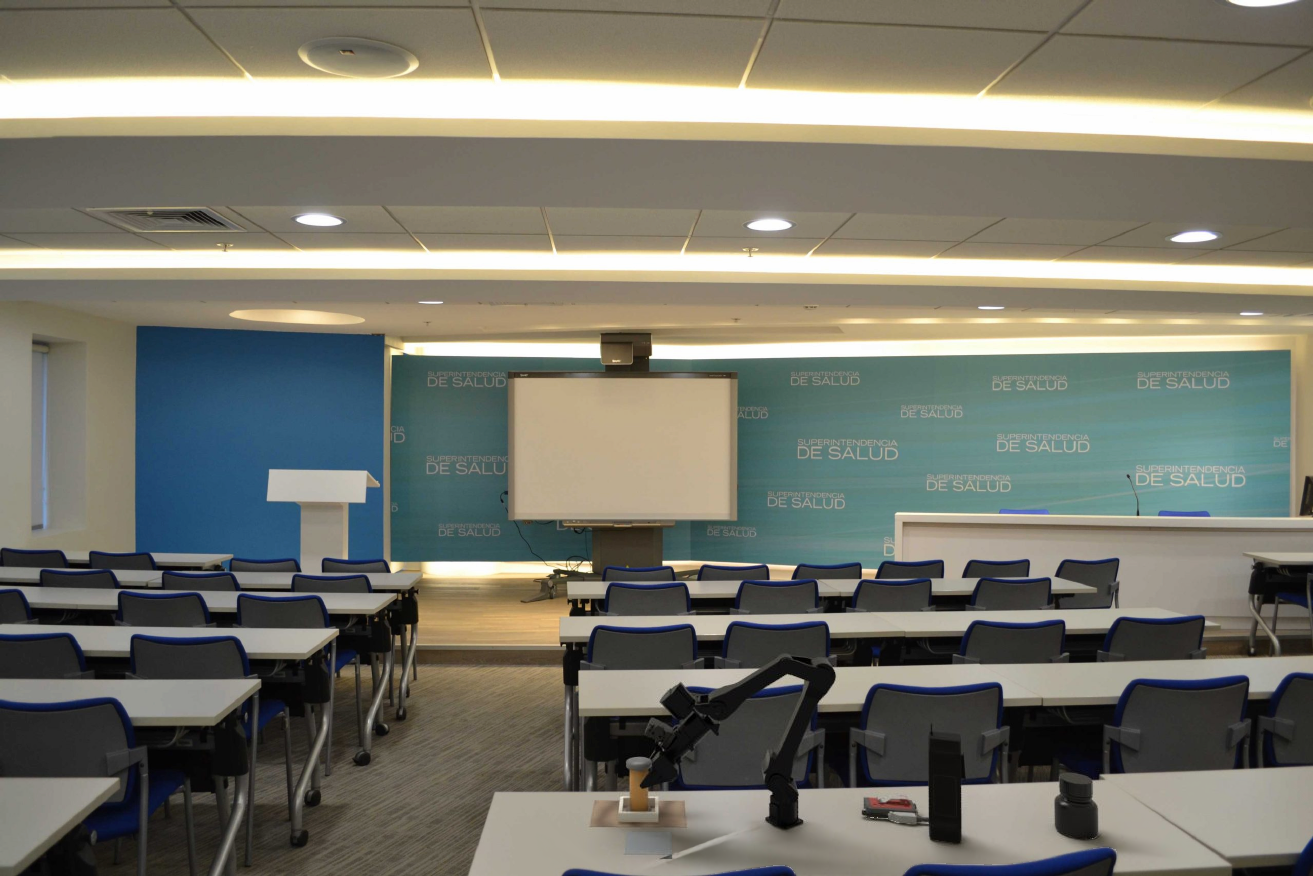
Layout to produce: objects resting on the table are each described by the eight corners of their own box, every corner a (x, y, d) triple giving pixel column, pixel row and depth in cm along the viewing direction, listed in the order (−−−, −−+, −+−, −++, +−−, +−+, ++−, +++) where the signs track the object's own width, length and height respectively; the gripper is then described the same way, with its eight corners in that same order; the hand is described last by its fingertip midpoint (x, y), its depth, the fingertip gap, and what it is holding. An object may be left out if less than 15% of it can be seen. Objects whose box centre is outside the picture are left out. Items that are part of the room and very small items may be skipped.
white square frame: (658, 805, 193) (658, 796, 193) (658, 822, 183) (658, 813, 183) (620, 804, 193) (620, 796, 193) (618, 822, 183) (618, 813, 183)
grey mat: (671, 836, 178) (671, 832, 178) (671, 859, 168) (671, 854, 168) (626, 836, 178) (626, 832, 178) (624, 859, 168) (624, 854, 168)
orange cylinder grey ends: (641, 805, 192) (641, 755, 192) (656, 814, 187) (656, 762, 188) (621, 812, 189) (621, 760, 189) (635, 821, 184) (636, 768, 184)
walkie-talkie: (862, 823, 186) (952, 829, 183) (862, 804, 186) (952, 809, 184) (858, 807, 195) (943, 812, 192) (858, 789, 195) (943, 794, 192)
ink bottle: (1099, 827, 184) (1098, 775, 184) (1102, 844, 176) (1101, 789, 176) (1051, 819, 188) (1051, 768, 188) (1053, 835, 180) (1052, 781, 180)
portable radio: (965, 833, 180) (964, 722, 181) (966, 845, 175) (965, 730, 175) (928, 828, 183) (928, 718, 184) (928, 840, 177) (928, 726, 178)
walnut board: (684, 805, 195) (684, 800, 195) (686, 831, 181) (686, 827, 181) (594, 804, 195) (594, 800, 195) (589, 831, 181) (589, 826, 181)
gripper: (667, 696, 198) (622, 740, 198) (663, 721, 179) (614, 769, 179) (698, 729, 197) (653, 773, 197) (698, 757, 178) (648, 806, 179)
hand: (642, 779), depth 188 cm, fingers open, 9 cm apart
